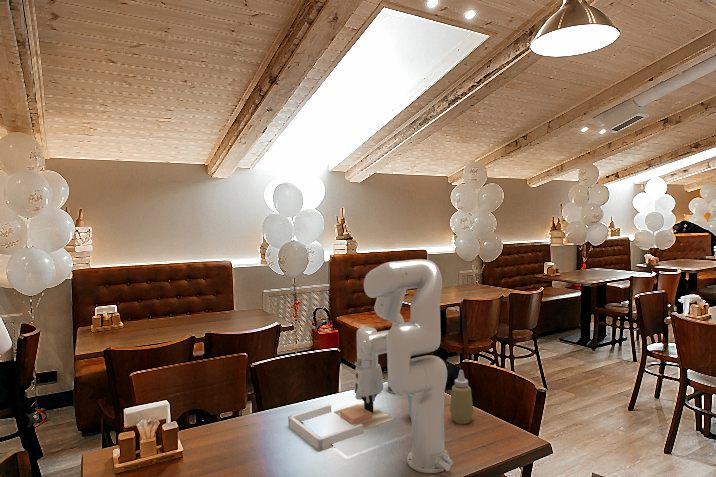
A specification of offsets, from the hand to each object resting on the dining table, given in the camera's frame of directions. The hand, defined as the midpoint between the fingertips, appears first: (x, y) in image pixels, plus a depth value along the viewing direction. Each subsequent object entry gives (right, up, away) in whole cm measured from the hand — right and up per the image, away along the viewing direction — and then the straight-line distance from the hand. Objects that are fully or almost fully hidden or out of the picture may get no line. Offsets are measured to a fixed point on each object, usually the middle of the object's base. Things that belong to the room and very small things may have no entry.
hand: (368, 411), depth 173 cm
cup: (+17, -2, -5) cm, 18 cm away
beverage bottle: (+13, 0, +23) cm, 26 cm away
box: (-15, -3, -10) cm, 19 cm away
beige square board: (-2, -2, -1) cm, 3 cm away
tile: (-5, -1, -3) cm, 6 cm away
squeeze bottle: (+32, -1, -5) cm, 33 cm away
